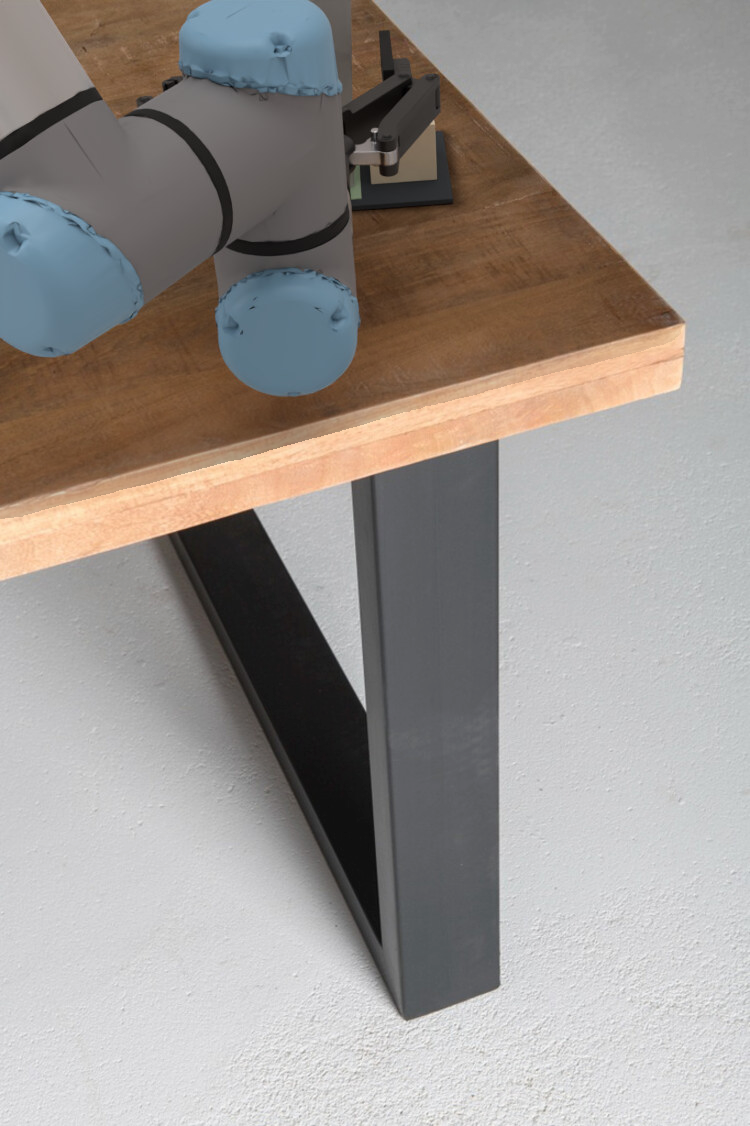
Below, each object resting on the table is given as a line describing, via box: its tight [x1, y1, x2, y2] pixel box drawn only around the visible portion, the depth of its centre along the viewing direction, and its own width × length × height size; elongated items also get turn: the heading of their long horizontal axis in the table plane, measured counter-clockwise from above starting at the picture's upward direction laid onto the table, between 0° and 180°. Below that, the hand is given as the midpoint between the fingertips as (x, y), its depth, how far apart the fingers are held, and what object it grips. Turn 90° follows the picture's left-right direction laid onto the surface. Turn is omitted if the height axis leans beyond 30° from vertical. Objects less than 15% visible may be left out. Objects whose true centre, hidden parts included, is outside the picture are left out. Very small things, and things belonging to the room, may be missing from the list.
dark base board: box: [350, 119, 454, 211], centre depth 108 cm, size 22×11×5 cm, turn 92°
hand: (289, 56), depth 100 cm, fingers open, 13 cm apart
